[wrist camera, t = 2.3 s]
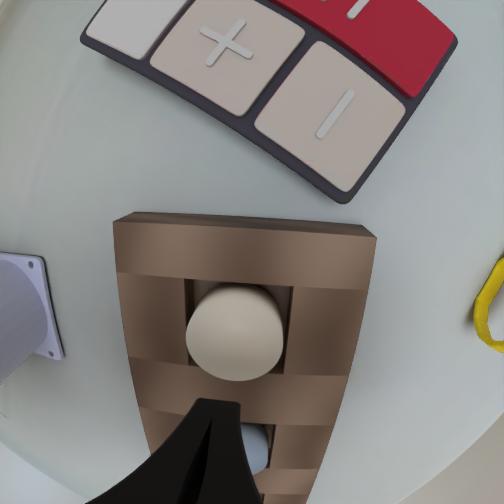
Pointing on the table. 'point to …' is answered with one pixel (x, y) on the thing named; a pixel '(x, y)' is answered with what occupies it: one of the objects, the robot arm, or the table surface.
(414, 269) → the table surface
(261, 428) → the slate blue button
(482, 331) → the watch
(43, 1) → the table surface
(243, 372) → the cream button
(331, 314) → the button panel
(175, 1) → the calculator
